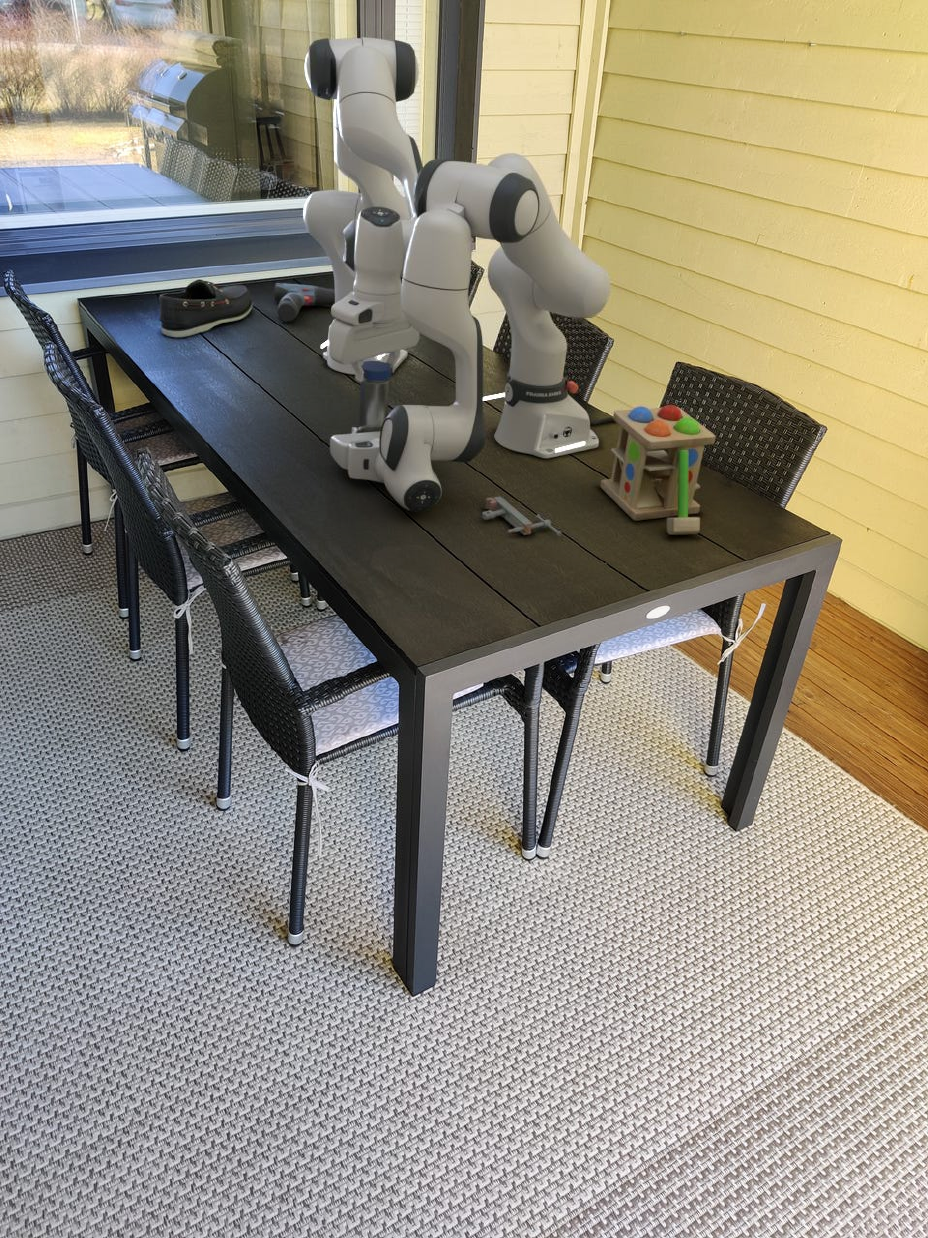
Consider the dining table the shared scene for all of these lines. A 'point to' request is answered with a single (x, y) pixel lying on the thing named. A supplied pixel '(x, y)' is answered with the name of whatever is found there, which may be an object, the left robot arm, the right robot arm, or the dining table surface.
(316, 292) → the power drill
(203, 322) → the boat shoe
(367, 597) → the dining table surface
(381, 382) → the dark grey bottle
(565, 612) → the dining table surface
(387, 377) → the lid
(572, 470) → the dining table surface
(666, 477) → the pounding bench toy
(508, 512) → the clamp
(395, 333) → the left robot arm
